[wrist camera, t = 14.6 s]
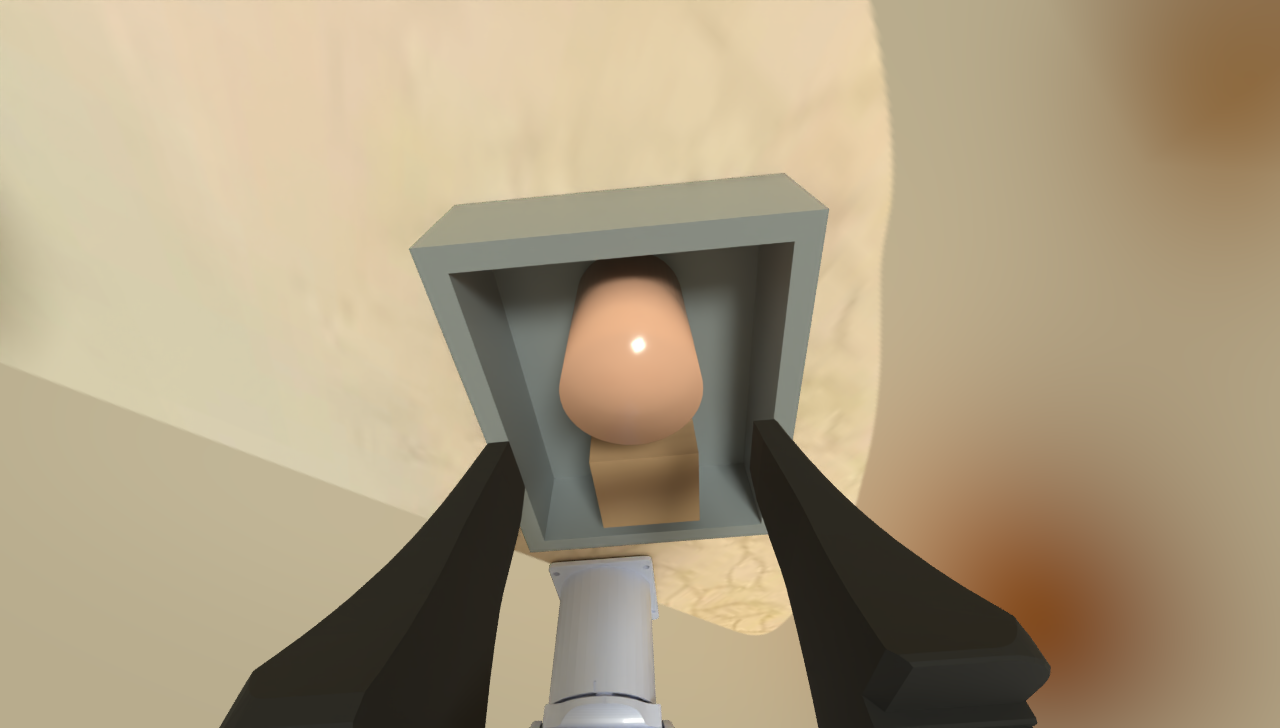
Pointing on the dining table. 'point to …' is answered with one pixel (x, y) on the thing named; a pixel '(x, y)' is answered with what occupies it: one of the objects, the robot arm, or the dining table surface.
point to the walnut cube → (647, 480)
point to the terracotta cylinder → (630, 353)
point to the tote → (542, 312)
